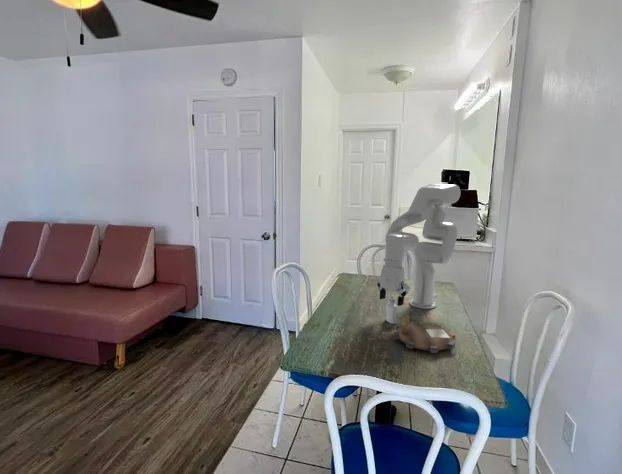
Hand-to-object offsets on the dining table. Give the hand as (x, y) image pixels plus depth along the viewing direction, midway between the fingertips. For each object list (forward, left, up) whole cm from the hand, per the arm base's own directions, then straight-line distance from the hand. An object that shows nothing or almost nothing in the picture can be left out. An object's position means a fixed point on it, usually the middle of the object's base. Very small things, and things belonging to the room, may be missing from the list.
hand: (391, 301), depth 152 cm
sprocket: (+4, +20, -8) cm, 22 cm away
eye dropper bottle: (-1, 0, -10) cm, 10 cm away
